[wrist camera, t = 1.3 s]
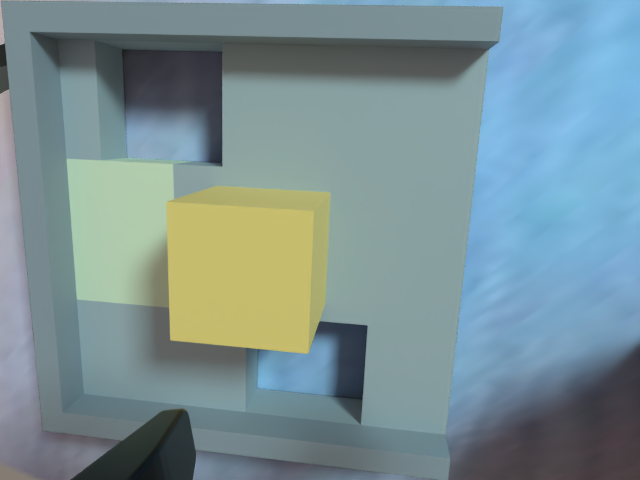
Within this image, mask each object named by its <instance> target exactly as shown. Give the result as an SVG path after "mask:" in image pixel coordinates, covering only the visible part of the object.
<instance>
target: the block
mask: <svg viewBox="0 0 640 480" xmlns="http://www.w3.org/2000/svg"><path fill="white" fill-rule="evenodd" d="M166 213H167V247H168V281H169V315H170V340H172V341H182V342H193V343H203V344H213V345H224V346H234V347H244V348H254V349H265V350H275V351H285V352H296V353H306V354H308V353H309V350H310V347H311V344H312V341H313V338H314V336H315V333H316V330H317V327H318V324H319V321H320V318H321V315H322V312H323V309H324V306H325V298H326V277H327V255H328V234H329V213H330V192H314V191H297V190H279V189H262V188H245V187H227V186H214V187H211V188H208V189H205V190H202V191H199V192H195V193H192V194H189V195H186V196H183V197H180V198H177V199H173V200H170V201H167V202H166Z"/></svg>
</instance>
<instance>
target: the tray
mask: <svg viewBox="0 0 640 480" xmlns="http://www.w3.org/2000/svg"><path fill="white" fill-rule="evenodd" d="M1 7H2V18H3V28H4V38H5V49H6V59H7V69H8V79H9V90H10V100H11V110H12V121H13V131H14V141H15V152H16V162H17V172H18V182H19V193H20V203H21V213H22V224H23V234H24V244H25V255H26V265H27V275H28V285H29V296H30V306H31V316H32V327H33V337H34V347H35V358H36V368H37V378H38V388H39V399H40V409H41V419H42V430H43V431H48V432H56V433H64V434H72V435H81V436H89V437H97V438H105V439H113V440H121V441H122V440H124V439H125V438H126V437H128V436H129V435H130V434H132V433H133V432H134V431H136V430H137V429H138V428H140V427H141V426H142V425H144V424H145V423H146V422H148V421H149V420H150V419H152V418H153V417H154V416H155V415H157V414H158V413H159V412H161V411H163V410H170V409H180V408H183V409H185V410H186V411H187V412H188V414H189V418H190V423H191V429H192V434H193V439H194V445H195V450H202V451H210V452H218V453H226V454H234V455H242V456H250V457H258V458H266V459H274V460H282V461H291V462H299V463H307V464H315V465H323V466H331V467H339V468H347V469H355V470H363V471H371V472H379V473H388V474H396V475H404V476H412V477H420V478H428V479H436V480H448V476H449V467H450V459H451V458H450V453H449V449H448V444H447V439H446V427H447V418H448V410H449V401H450V392H451V383H452V374H453V365H454V356H455V347H456V339H457V330H458V321H459V312H460V303H461V294H462V285H463V276H464V267H465V259H466V250H467V241H468V232H469V223H470V214H471V205H472V196H473V188H474V179H475V170H476V161H477V152H478V143H479V134H480V125H481V116H482V108H483V99H484V90H485V81H486V72H487V63H488V54H489V49H490V48H491V47H493V46H494V45H495V44H496V43H498V42H499V38H500V30H501V21H502V13H503V7H475V6H395V5H315V4H235V3H155V2H75V1H1ZM122 49H131V50H172V51H213V52H222V163H215V162H195V161H176V160H157V159H138V158H127V144H126V123H125V101H124V80H123V58H122ZM214 186H227V187H245V188H262V189H279V190H297V191H314V192H330V213H329V234H328V255H327V277H326V298H325V306H324V309H323V312H322V315H321V318H320V321H324V322H335V323H347V324H358V325H368V329H367V343H366V358H365V373H364V387H363V400H361V399H351V398H342V397H333V396H323V395H314V394H305V393H295V392H286V391H277V390H267V389H258V388H257V370H258V349H254V348H244V347H234V346H224V345H213V344H203V343H193V342H182V341H172V340H170V315H169V281H168V247H167V213H166V202H167V201H170V200H173V199H177V198H180V197H183V196H186V195H189V194H192V193H195V192H199V191H202V190H205V189H208V188H211V187H214Z"/></svg>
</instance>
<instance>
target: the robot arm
mask: <svg viewBox="0 0 640 480" xmlns="http://www.w3.org/2000/svg"><path fill="white" fill-rule="evenodd" d="M195 460H196V452H195V445H194V439H193V434H192V429H191V423H190V418H189V414H188V412H187V411H186V410H185V409H183V408H180V409H170V410H163V411H161V412H159V413H158V414H157V415H155V416H154V417H153V418H152V419H150V420H149V421H148V422H146V423H145V424H144V425H142V426H141V427H140V428H138V429H137V430H136V431H134V432H133V433H132V434H130V435H129V436H128V437H126V438H125V439H124V440H122V441H121V442H120V443H118V444H117V445H116V446H115V447H113V448H112V449H111V450H109V451H108V452H107V453H105V454H104V455H103V456H101V457H100V458H99V459H97V460H96V461H95V462H93V463H92V464H91V465H89V466H88V467H87V468H85V469H84V470H83V471H81V472H80V473H79V474H77V475H76V476H75V477H73V478H72V479H71V480H193V474H194V468H195Z"/></svg>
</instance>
